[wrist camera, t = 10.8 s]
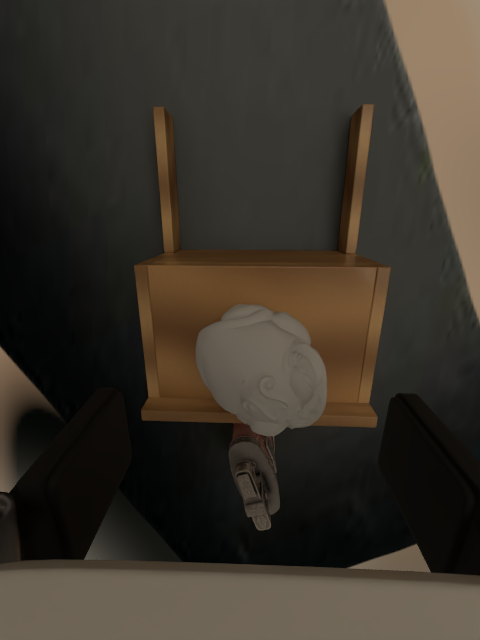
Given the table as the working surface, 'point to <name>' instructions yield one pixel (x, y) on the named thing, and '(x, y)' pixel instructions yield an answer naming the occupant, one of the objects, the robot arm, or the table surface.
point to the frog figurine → (263, 369)
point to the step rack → (261, 299)
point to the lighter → (255, 473)
